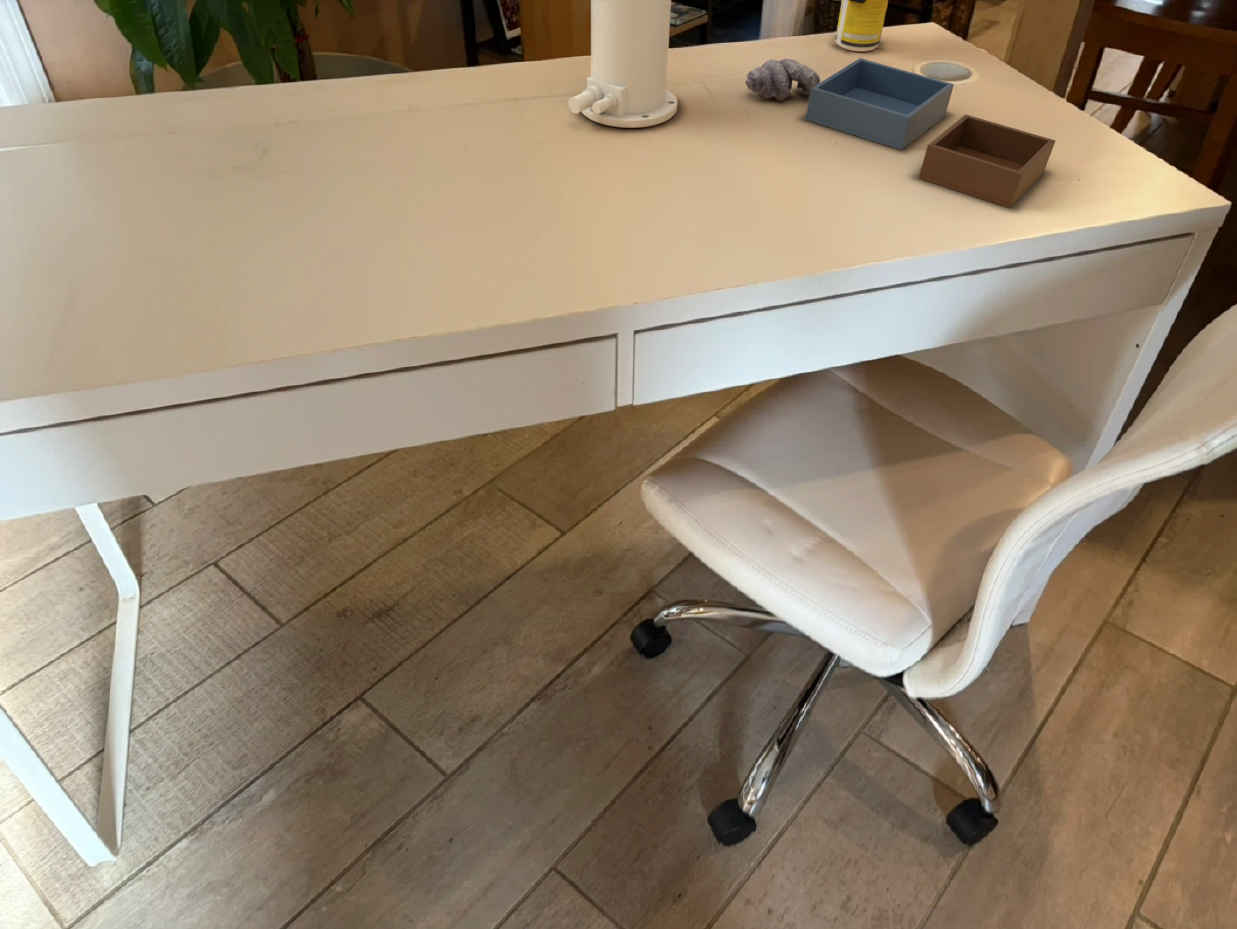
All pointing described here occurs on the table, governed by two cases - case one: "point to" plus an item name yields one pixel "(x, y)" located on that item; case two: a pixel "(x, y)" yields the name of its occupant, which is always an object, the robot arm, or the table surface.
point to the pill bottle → (861, 24)
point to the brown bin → (986, 160)
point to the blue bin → (879, 102)
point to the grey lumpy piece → (781, 78)
